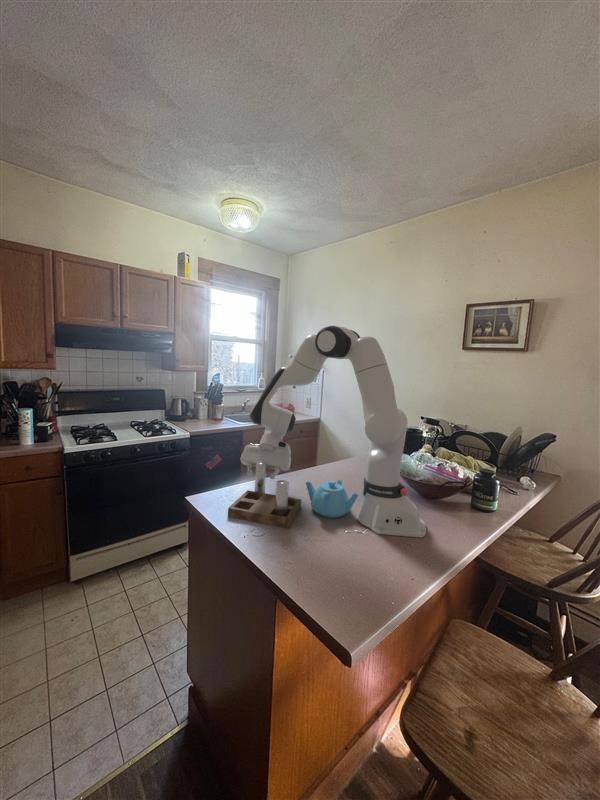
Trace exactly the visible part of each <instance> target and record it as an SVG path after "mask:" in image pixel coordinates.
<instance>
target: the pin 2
mask: <svg viewBox="0 0 600 800" xmlns="http://www.w3.org/2000/svg"><path fill="white" fill-rule="evenodd" d="M275 485H276V487H275V495H276V501H275V515H279V516H285V517H287V504H288V497H289V486H290V483H289V481H288V480H283V479H280V480H277V481H276V484H275Z"/></svg>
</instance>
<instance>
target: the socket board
mask: <svg viewBox="0 0 600 800" xmlns="http://www.w3.org/2000/svg"><path fill="white" fill-rule="evenodd" d="M275 501H276V494H271V493H266V492H265V493H260V492H255V490H254V491H253V490H249V489H247V490H246V491H245V492H244V493H243V494H241V496H240V497H238V498H237V499H236V500H235V501H234V502H233V503H232V504H231V505H230V506H229V507H228V508H227V518H231V519H232V518H233V519H238V520H239V519H240V520H242V521H248V522H253V523H258V524H265V525H270V526H274V527H280V528H285V529H290V527H291V525H292V524H293V521H294V519H295V518H296V516H297V515H298V513H299V511H300V509H301V508H302V499H301V498H295V497H289V496H288V504H287V517H285V516H279V515H275Z"/></svg>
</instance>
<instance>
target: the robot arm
mask: <svg viewBox="0 0 600 800" xmlns="http://www.w3.org/2000/svg"><path fill="white" fill-rule="evenodd" d="M329 358H330V359H336V360H347V359H348V360H349V361H350V363H351V365H352V368H353V371H354V374H355V378H356V381H357V386H358V389H359V394H360V398H361V402H362V403H361V404H362V410H363V411H362V412H363V418H364V425H365V426H364V433H365V435H366V438H367V439H368V440H369V441H370V443H371V444H370V446H369V450H368V453H367V459H366V471H365V477H364V479H363V484H362V485H363V486H362V501H361V504H360V508H359V510H358V513H357V516H356V519H357V520H358V522H359V523H361V525H363V526H365V527H366V528H369V529H370V530H372V532H374V533H375V534H377V535H387V536H397V537H398V536H400V537H410V538H412V537H413V538H423V537H425V536H426V535H427V527H426V523H425V522H424V520H423V519H422V518H421V517H420V511H419V509H418V507H417V505H416V504H415V503H414V502H413V501H412V500H411V499H410V498H409V497H408V496H407V495H408V491H407V489H406V487H405V486H404V483H403V482H400V478H401V477H400V476H401V475H400V474H401V468H402V467H401V466H402V460H403V453H404V448H405V444H406V443H405V442H406V437H407V430H408V429H407V428H408V418H407V416H406V413H405V412H404V411H403V410H402V409H400V408H398V406H397V399H396V395H395V386H394V382H393V379H392V376H391V371H390V368H389V365H388V362H387V359H386V356H385V354H384V351H383V349H382V347H381V345H380V344H379V342H378V340H377V339H376V338H374V337H373V336H362V337H361V336H360V335H359V333H357V332H356V331H354V330H352V329H349V328H346V327H344V326H338V325H328V326H327V325H326V326H324V327H323V328H321V329H320V330H319V331H318V332H317V333H316V334H309V335H307V336H306V337H305V338H304V340H303V341H302V342H301V344H300V346H299V348H297V351H296V353H295V355H294V357H293V359H292V361H291V362H290V363H289V364H288V365H286V366H281V367H280V368H279V369H278V370H277V371H276V373H275V374H274V375H273V377H272V378H271V380H270V381H269V382H268V384H267V386H266V387H265V389H264V390H263V392H261V395H260V396H259V398H258V399H257V400H256V401H255V402H254V404H253V405H252V406H251V408H250V411H249V418H250V419H251V422H252V424H254V425H258V426H262V427H264V432H263V434H262V436H261V439H260V441H259V444H258V443H251V442H250V443H249V444H246V445H245V446H244V449H243V452H242V453H241V456H240V457H239V460H240V462H241V464H242V465H245V466H246V467H247V471H246V475H247V476H250V477H251V476H252V474H253V470H252V469H251V468H252V467H256V462H260V461H262V462H266V463H267V464H266V469H270V470H271V469H273V470H274V471H273V472H271V473H270V475H269V479H271V480H275V479H276V476H277V475H278V474H279V473H280V471H283V472H284V471H285V472H286V471H289V470H290V469H291V463H292V462H291V461H292V457H291V454H292V452H291V451H292V449H291V447H290V444H289V443H287V442H285V441H283V438H284V437H286V436H288V435H290V434H291V433H293V430H294V427H295V422H296V420H297V419H296V415H295V414H294V412H293V411H291V410H289V409H287V408H283V407H281V406H278V405H276V404H273V403H271V402H270V401H271V400H272V398H273V397H274V395H275V394H276V393H277V391H278V390H279V389H280V388H282V387H285V386H295V387H296V386H297V387H301V386H302V387H303V386H308V385H310V384H312V383H313V382H314V381H316V380H317V378H318V375H320V372H321V370H322V368H323V367H324V366H323V365H324V364H325V362H326V360H327V359H329Z"/></svg>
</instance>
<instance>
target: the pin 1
mask: <svg viewBox="0 0 600 800" xmlns="http://www.w3.org/2000/svg"><path fill="white" fill-rule="evenodd" d="M266 464H267V463H266V462H262V461H260V462H256V466H255V476H254V477H255V478H254V479H255V480H254V492H260V493H266V482H267V481H266V480H267V479H266V478H267V468H266Z"/></svg>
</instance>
